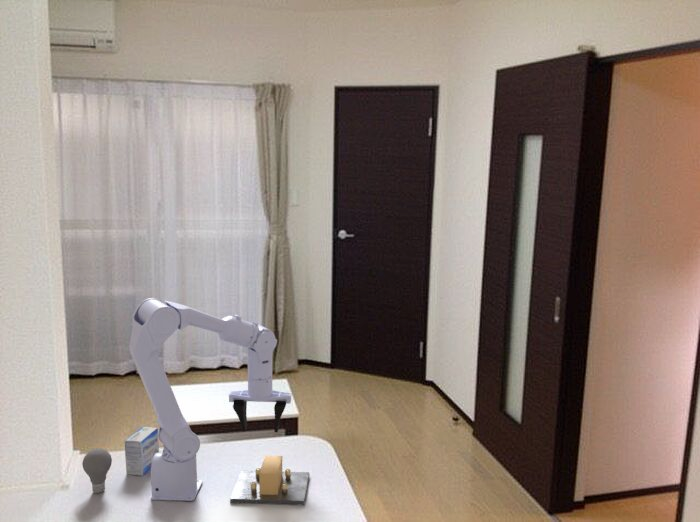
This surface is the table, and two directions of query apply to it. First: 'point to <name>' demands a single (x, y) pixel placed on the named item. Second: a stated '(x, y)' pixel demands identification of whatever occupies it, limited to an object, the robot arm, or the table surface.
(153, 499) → the robot arm
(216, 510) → the table surface
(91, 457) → the light bulb
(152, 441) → the medicine box
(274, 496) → the chassis plate
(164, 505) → the table surface
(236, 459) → the table surface
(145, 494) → the table surface
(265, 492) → the ochre block
